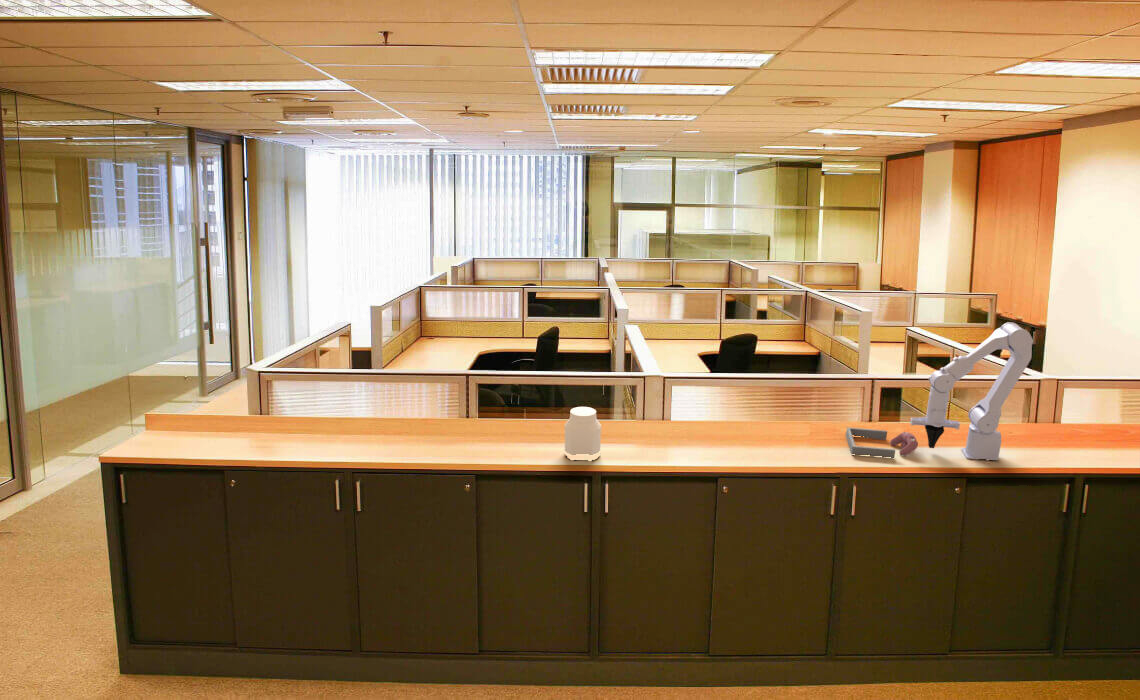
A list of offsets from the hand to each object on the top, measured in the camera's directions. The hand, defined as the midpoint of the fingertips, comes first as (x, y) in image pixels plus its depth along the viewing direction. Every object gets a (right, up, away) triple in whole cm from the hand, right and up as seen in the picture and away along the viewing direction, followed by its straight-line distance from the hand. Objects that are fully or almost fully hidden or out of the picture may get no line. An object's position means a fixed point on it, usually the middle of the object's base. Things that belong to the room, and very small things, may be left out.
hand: (931, 446), depth 266 cm
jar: (-114, -2, -5) cm, 114 cm away
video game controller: (-8, -2, +2) cm, 9 cm away
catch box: (-19, 0, +4) cm, 19 cm away
